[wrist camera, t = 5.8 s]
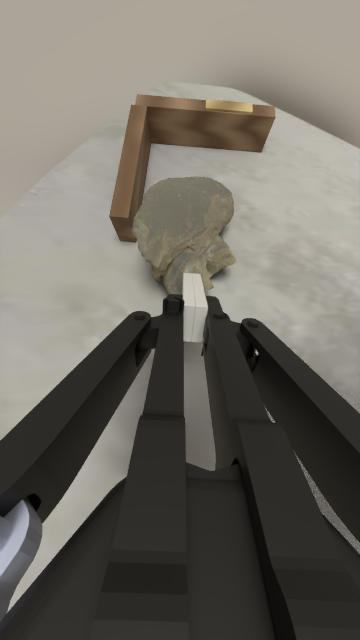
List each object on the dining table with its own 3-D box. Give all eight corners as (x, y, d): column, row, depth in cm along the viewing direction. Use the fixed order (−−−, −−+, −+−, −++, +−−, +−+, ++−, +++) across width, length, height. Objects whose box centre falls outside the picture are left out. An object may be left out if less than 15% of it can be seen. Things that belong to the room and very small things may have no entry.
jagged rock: (147, 279, 26) (190, 323, 21) (91, 216, 18) (141, 262, 12) (219, 212, 27) (280, 237, 21) (199, 115, 18) (295, 117, 12)
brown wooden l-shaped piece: (260, 142, 28) (275, 104, 24) (265, 252, 24) (283, 229, 19) (139, 131, 28) (132, 91, 24) (120, 240, 23) (108, 214, 19)
